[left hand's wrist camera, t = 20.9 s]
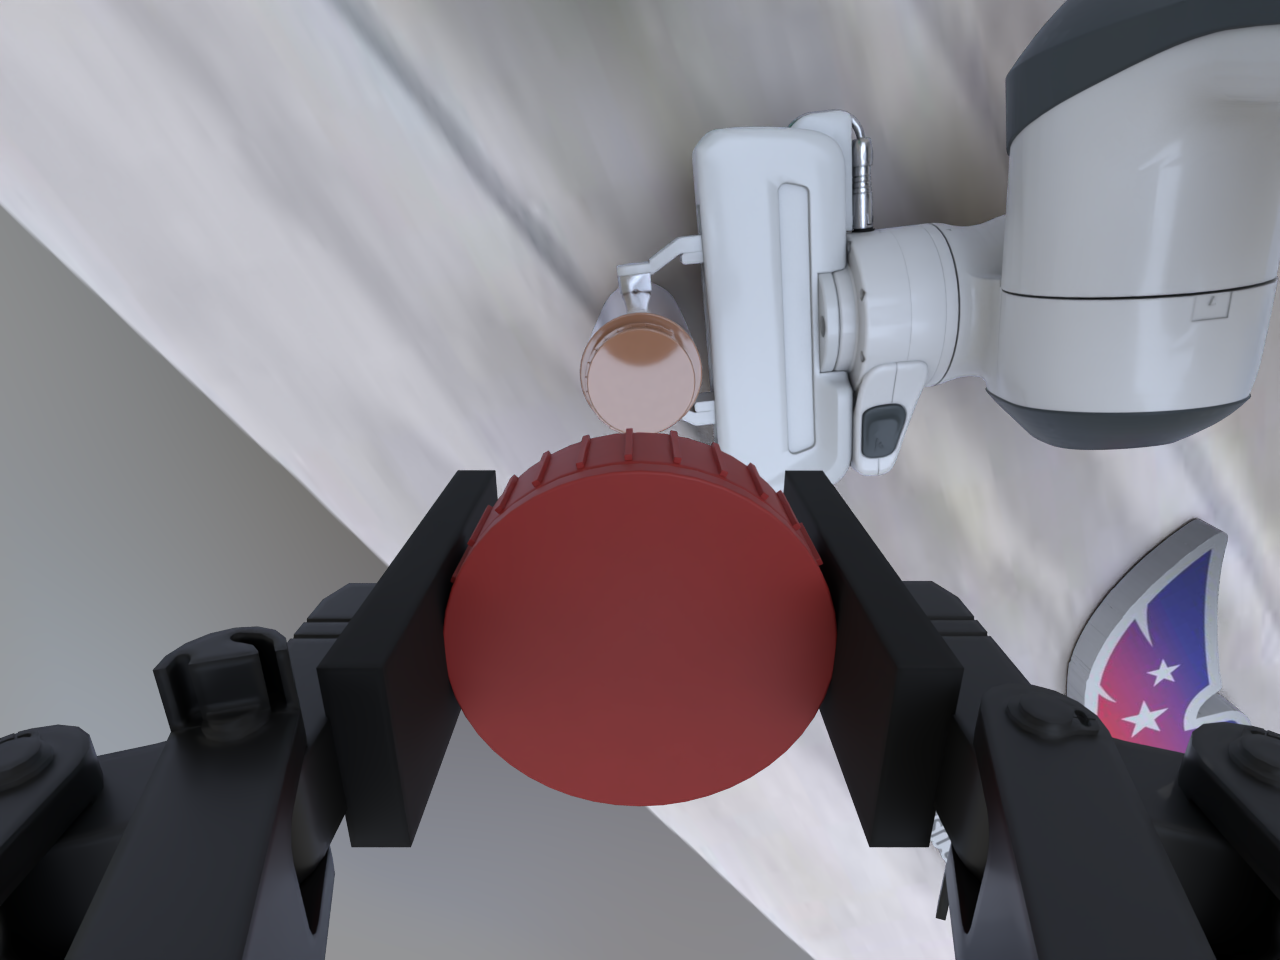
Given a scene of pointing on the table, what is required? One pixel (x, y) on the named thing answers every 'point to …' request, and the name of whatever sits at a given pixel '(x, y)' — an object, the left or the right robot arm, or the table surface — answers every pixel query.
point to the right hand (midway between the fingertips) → (625, 341)
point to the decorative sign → (1153, 649)
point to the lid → (640, 621)
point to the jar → (641, 363)
